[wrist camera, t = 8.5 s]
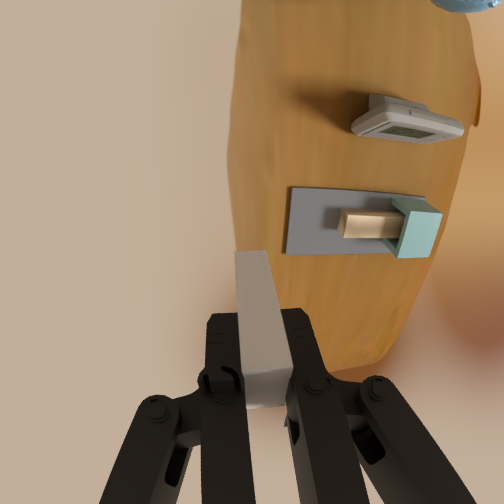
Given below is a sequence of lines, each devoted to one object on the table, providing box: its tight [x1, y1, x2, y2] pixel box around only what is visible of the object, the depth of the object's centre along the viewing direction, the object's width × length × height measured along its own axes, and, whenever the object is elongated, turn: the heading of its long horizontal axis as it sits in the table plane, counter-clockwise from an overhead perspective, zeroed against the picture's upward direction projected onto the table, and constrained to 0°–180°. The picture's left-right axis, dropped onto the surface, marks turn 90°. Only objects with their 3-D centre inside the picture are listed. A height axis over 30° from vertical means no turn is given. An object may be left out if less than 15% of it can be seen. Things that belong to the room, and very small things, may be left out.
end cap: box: [382, 197, 443, 258], centre depth 42 cm, size 9×8×6 cm
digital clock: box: [351, 95, 464, 144], centre depth 31 cm, size 16×9×11 cm, turn 81°
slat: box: [337, 208, 406, 238], centre depth 43 cm, size 4×14×3 cm, turn 88°
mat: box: [285, 187, 426, 255], centre depth 45 cm, size 12×27×1 cm, turn 88°
